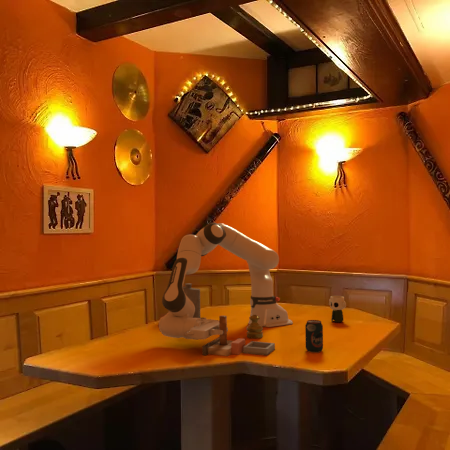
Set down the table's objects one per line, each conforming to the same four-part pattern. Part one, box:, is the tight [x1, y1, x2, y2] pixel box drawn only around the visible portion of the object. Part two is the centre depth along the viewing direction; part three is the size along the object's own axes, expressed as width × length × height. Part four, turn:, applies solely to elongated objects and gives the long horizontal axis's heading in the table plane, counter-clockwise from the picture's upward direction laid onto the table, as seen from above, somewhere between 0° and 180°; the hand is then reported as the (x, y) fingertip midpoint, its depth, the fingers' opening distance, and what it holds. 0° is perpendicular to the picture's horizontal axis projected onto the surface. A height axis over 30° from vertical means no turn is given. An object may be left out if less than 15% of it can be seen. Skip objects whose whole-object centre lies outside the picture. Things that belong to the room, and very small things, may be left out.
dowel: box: [218, 315, 228, 346], centre depth 206 cm, size 3×3×14 cm
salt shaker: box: [246, 315, 264, 340], centre depth 229 cm, size 7×7×10 cm
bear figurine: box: [328, 295, 347, 323], centre depth 261 cm, size 11×7×13 cm, turn 38°
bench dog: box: [230, 337, 246, 355], centre depth 203 cm, size 3×8×4 cm, turn 157°
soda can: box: [304, 319, 324, 354], centre depth 204 cm, size 7×7×12 cm
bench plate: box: [208, 339, 234, 357], centre depth 206 cm, size 10×14×2 cm
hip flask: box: [183, 282, 201, 318], centre depth 266 cm, size 16×4×20 cm, turn 41°
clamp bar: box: [201, 336, 220, 356], centre depth 208 cm, size 2×19×4 cm, turn 157°
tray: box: [242, 340, 276, 356], centre depth 204 cm, size 10×10×2 cm
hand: (225, 331), depth 206 cm, fingers closed on dowel, 3 cm apart
